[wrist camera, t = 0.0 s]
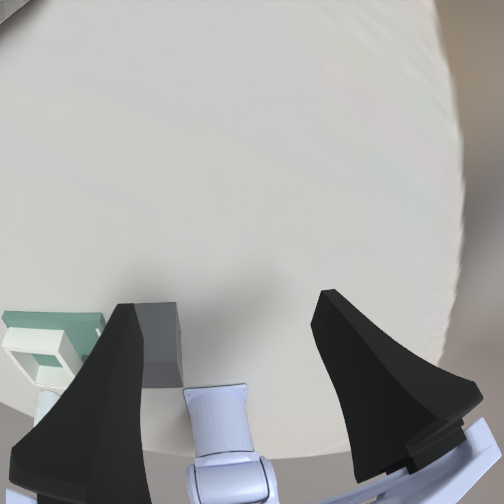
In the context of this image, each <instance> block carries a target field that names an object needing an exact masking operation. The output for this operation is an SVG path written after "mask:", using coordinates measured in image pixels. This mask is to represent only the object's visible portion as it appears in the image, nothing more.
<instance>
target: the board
mask: <svg viewBox="0 0 504 504" xmlns="http://www.w3.org/2000/svg"><path fill="white" fill-rule="evenodd" d="M2 319H3V321H4V323H5V324H6V326H7V327H8V330H7V333H6V335H5V338H4V340H3V343H2V347H3V348H4V349H5V351H6V352H7V353H8V355H9V356H10V357H11V359H12V360H13V361H14V363H15V364H16V365H17V366H18V368H19V369H20V370H21V371H22V372H23V374H24V375H25V376H26V377H27V378H28V379H29V381H30V382H31V383H32V384H33V385H35V386H41V387H48V388H56V389H65V390H66V389H67V388H68V386H69V385H70V383H71V382H72V381H73V379H74V378H75V376H76V375H77V373H78V372H79V370H80V369H81V367H82V365H83V364H84V362H85V361H86V359H87V357H88V356H89V354H90V353H91V351H92V349H93V347H94V346H95V344H96V342H97V340H98V339H99V337H100V335H101V333H102V332H103V330H104V328H105V326H106V323H105V320H104V318H103V315H102V313H45V312H16V311H5V312H4V314H3V316H2Z"/></svg>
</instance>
